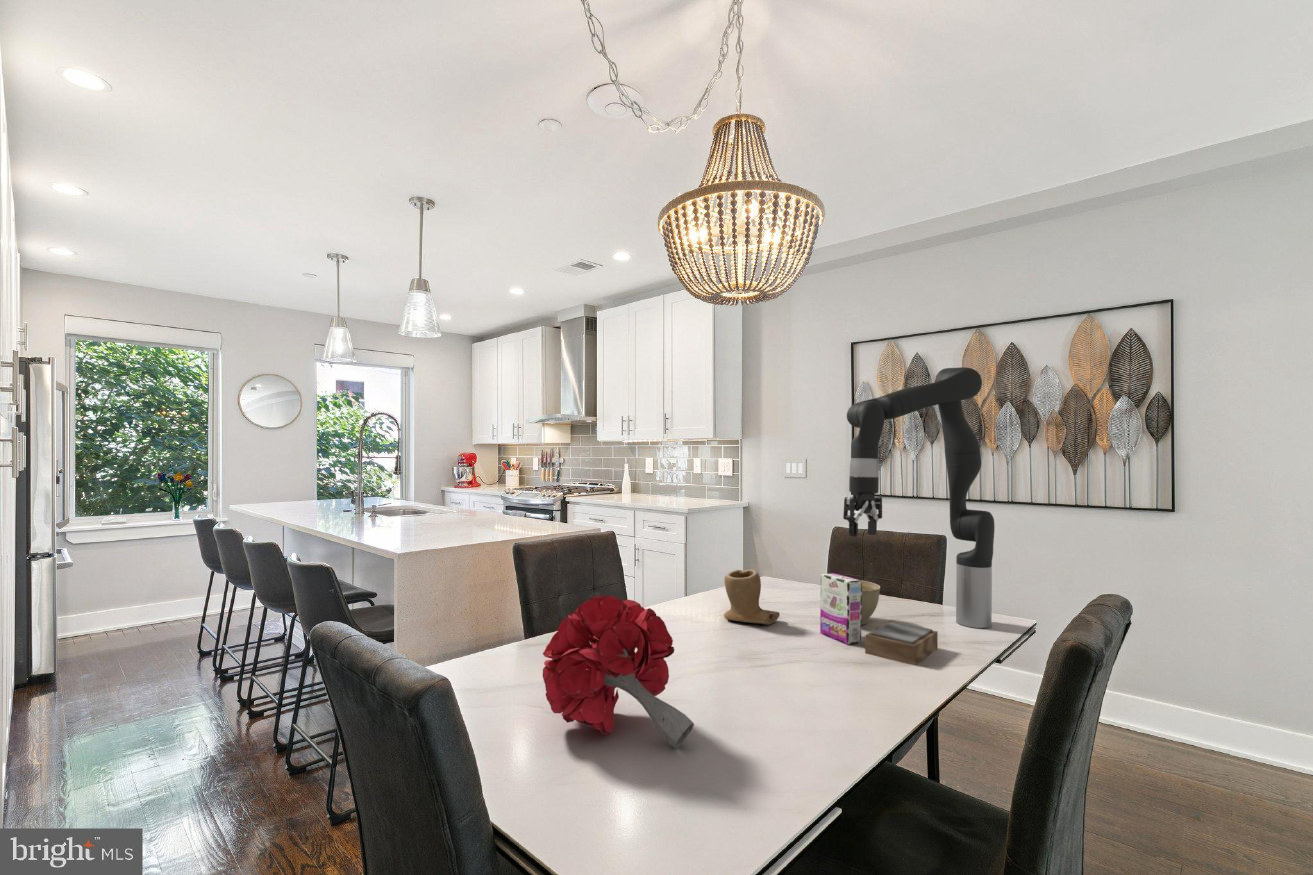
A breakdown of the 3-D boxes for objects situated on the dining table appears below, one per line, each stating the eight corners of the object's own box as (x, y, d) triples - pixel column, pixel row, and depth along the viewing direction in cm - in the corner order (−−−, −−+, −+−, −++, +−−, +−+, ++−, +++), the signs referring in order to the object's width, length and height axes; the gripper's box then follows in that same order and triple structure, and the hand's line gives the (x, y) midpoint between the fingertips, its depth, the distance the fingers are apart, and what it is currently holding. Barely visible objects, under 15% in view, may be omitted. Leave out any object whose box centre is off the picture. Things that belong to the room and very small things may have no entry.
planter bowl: (885, 619, 183) (885, 582, 183) (872, 633, 169) (873, 593, 169) (831, 611, 191) (831, 576, 191) (815, 623, 178) (815, 585, 178)
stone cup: (716, 623, 177) (717, 571, 177) (732, 613, 187) (732, 564, 187) (766, 631, 169) (767, 577, 169) (780, 621, 180) (780, 569, 180)
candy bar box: (862, 643, 160) (863, 580, 160) (847, 645, 158) (848, 581, 158) (833, 631, 170) (833, 572, 171) (819, 633, 168) (819, 573, 168)
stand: (890, 638, 164) (890, 619, 164) (937, 649, 156) (937, 629, 156) (865, 653, 152) (865, 632, 152) (914, 665, 144) (914, 643, 144)
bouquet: (691, 750, 116) (583, 646, 130) (745, 657, 109) (625, 557, 122) (622, 814, 98) (506, 686, 112) (681, 708, 91) (549, 585, 105)
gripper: (867, 475, 172) (866, 532, 172) (836, 474, 164) (834, 535, 163) (891, 476, 166) (890, 536, 166) (860, 475, 158) (859, 538, 157)
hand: (862, 535), depth 165 cm, fingers open, 8 cm apart
